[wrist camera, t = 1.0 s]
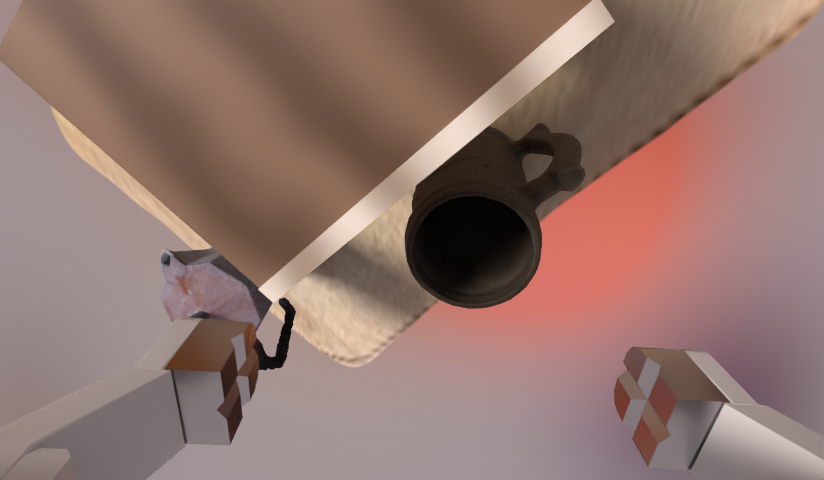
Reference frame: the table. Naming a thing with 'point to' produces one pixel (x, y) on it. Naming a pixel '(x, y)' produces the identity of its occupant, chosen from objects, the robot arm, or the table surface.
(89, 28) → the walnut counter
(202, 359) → the robot arm
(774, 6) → the table surface
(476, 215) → the beer stein
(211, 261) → the moka pot
